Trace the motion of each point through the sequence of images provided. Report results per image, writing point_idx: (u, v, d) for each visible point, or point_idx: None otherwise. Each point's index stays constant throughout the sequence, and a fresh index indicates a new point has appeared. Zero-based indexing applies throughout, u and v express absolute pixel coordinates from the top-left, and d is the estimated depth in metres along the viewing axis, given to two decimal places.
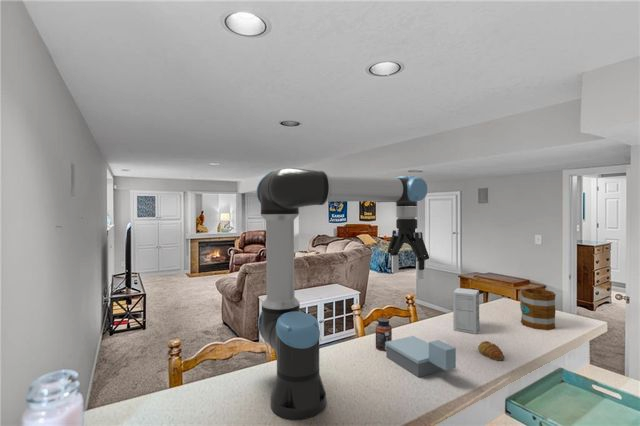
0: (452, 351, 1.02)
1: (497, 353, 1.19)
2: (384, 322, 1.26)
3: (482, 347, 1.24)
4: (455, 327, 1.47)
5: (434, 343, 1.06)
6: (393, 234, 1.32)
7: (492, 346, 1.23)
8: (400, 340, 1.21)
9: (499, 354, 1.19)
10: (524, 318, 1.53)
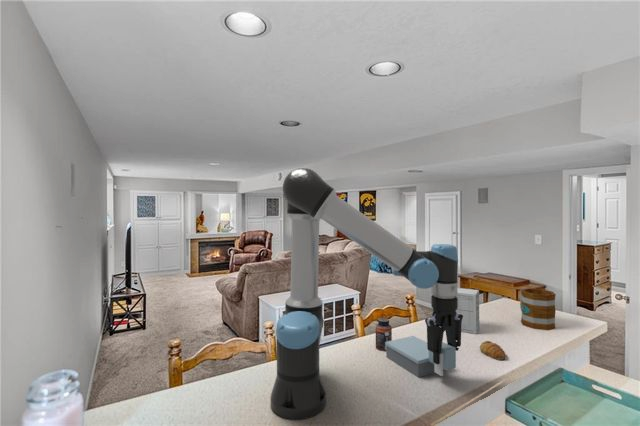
0: (452, 351, 1.02)
1: (499, 353, 1.20)
2: (384, 322, 1.26)
3: (484, 347, 1.24)
4: None
5: None
6: None
7: (494, 346, 1.23)
8: (399, 340, 1.21)
9: (501, 354, 1.19)
10: (524, 318, 1.53)
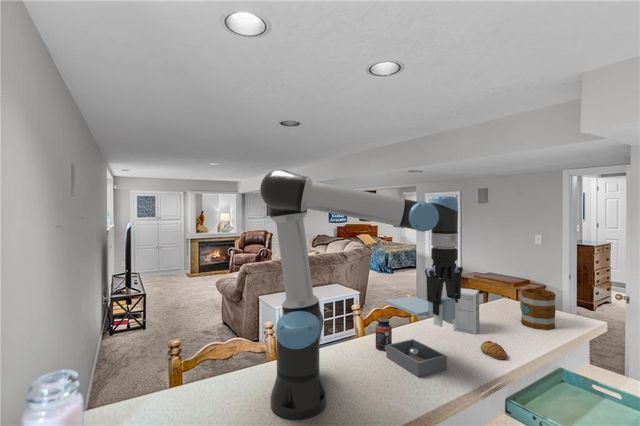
0: (452, 303, 1.02)
1: (500, 352, 1.20)
2: (384, 322, 1.26)
3: (485, 347, 1.24)
4: (455, 327, 1.47)
5: None
6: None
7: (495, 345, 1.23)
8: (399, 299, 1.21)
9: (502, 353, 1.19)
10: (524, 318, 1.53)
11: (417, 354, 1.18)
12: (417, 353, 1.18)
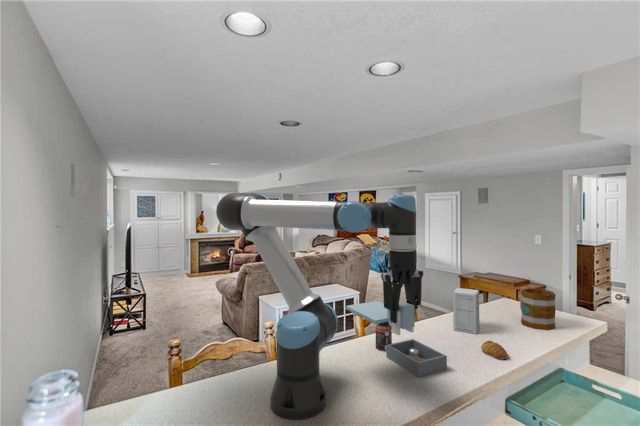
0: (410, 309, 0.95)
1: (501, 352, 1.20)
2: (384, 322, 1.26)
3: (486, 347, 1.24)
4: (455, 327, 1.47)
5: None
6: None
7: (496, 345, 1.23)
8: (361, 304, 1.14)
9: (503, 353, 1.20)
10: (524, 318, 1.53)
11: (417, 354, 1.18)
12: (417, 353, 1.18)
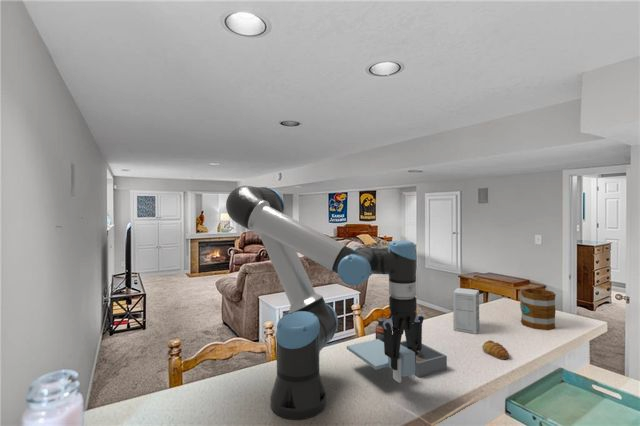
0: (411, 356, 0.95)
1: (503, 352, 1.20)
2: None
3: (487, 346, 1.25)
4: (455, 327, 1.47)
5: None
6: None
7: (497, 345, 1.24)
8: (362, 344, 1.14)
9: (505, 353, 1.20)
10: (524, 318, 1.53)
11: None
12: None
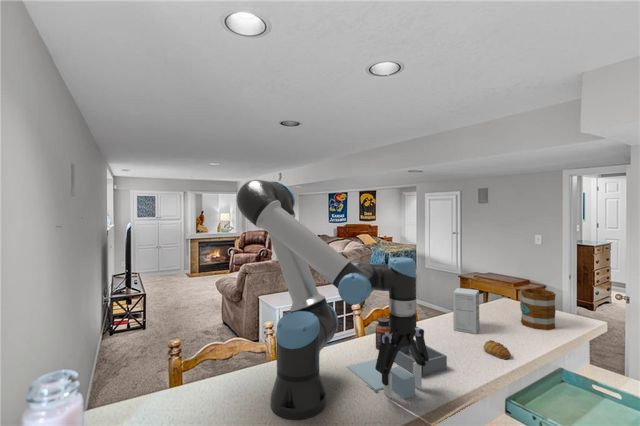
0: (411, 380, 0.95)
1: (505, 352, 1.20)
2: (384, 322, 1.26)
3: (488, 346, 1.25)
4: (455, 327, 1.47)
5: (393, 370, 0.99)
6: None
7: (498, 345, 1.24)
8: (362, 364, 1.14)
9: (507, 353, 1.20)
10: (524, 318, 1.53)
11: None
12: None
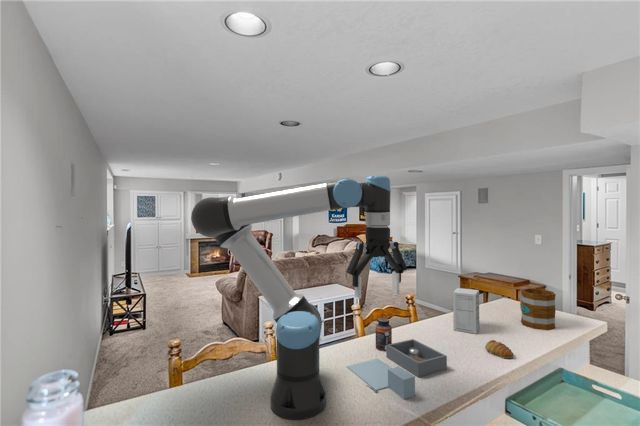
0: (411, 380, 0.95)
1: (507, 351, 1.21)
2: (384, 322, 1.26)
3: (490, 346, 1.25)
4: (455, 327, 1.47)
5: (393, 370, 0.99)
6: None
7: (500, 345, 1.24)
8: (362, 364, 1.14)
9: (509, 352, 1.20)
10: (524, 318, 1.53)
11: (417, 354, 1.18)
12: (417, 353, 1.18)
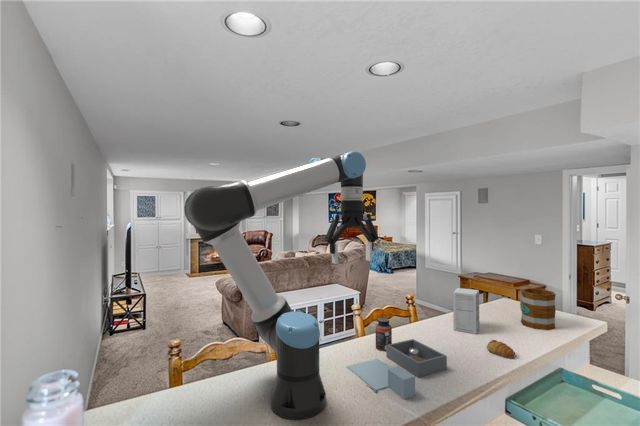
0: (411, 380, 0.95)
1: (509, 351, 1.21)
2: (384, 322, 1.26)
3: (492, 346, 1.25)
4: (455, 327, 1.47)
5: (393, 370, 0.99)
6: None
7: (502, 344, 1.24)
8: (362, 364, 1.14)
9: (511, 352, 1.21)
10: (524, 318, 1.53)
11: (417, 354, 1.18)
12: (417, 353, 1.18)
